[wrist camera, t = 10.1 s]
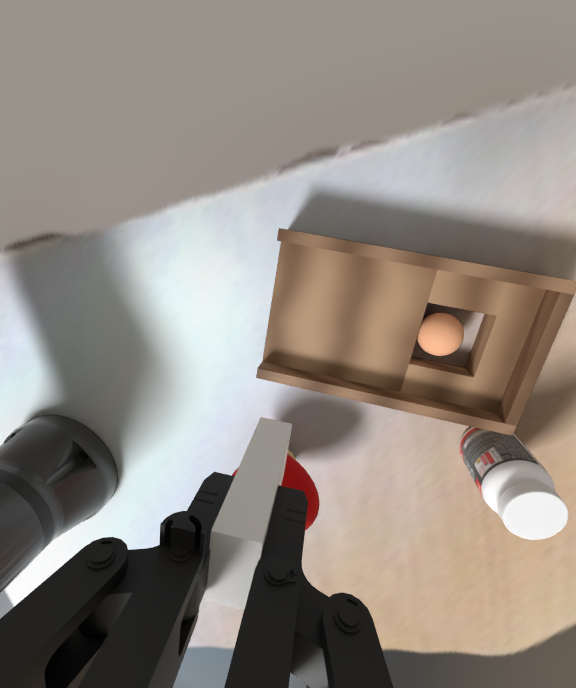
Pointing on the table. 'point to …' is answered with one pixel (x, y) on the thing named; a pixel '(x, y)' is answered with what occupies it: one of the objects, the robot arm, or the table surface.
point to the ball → (440, 334)
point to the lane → (407, 329)
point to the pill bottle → (513, 483)
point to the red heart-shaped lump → (300, 486)
